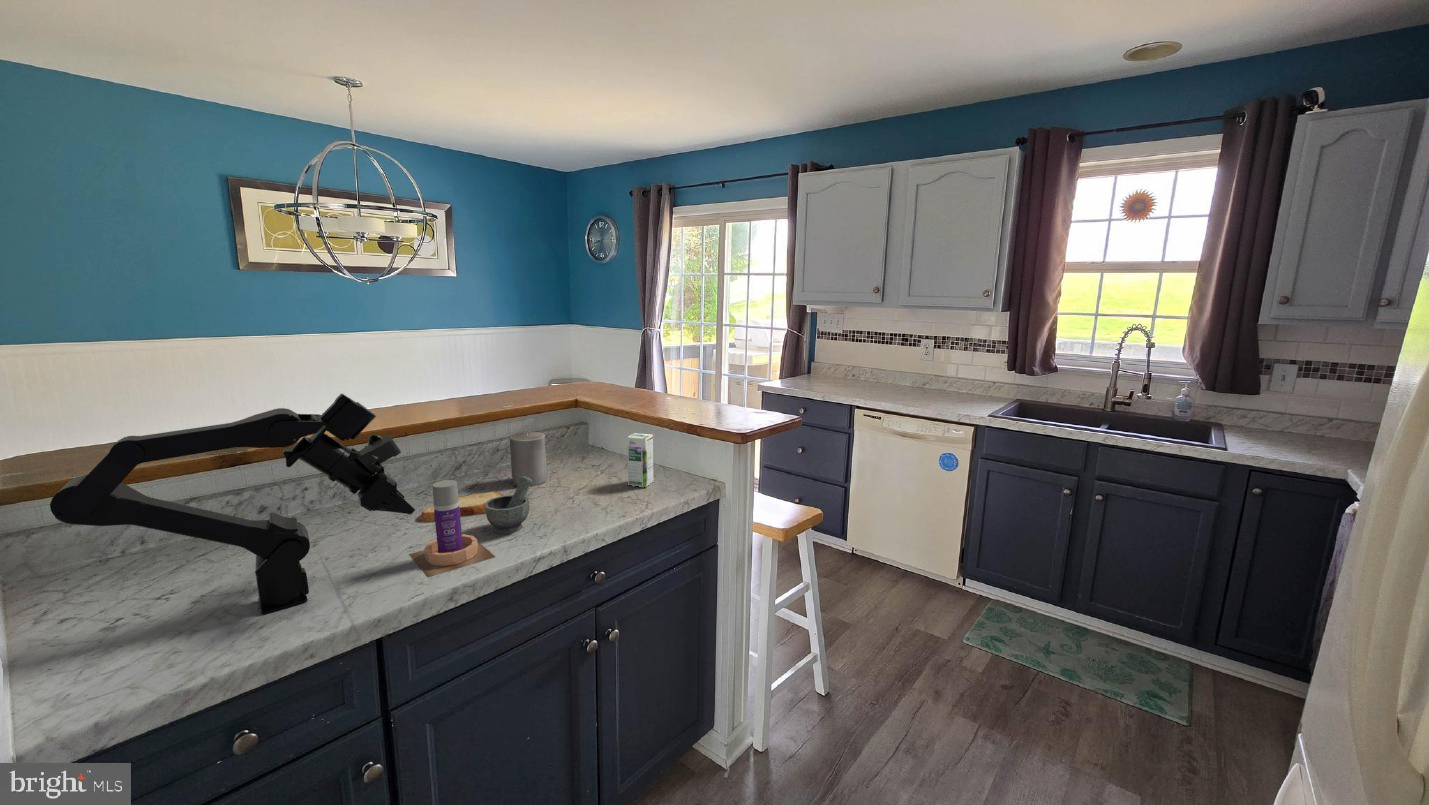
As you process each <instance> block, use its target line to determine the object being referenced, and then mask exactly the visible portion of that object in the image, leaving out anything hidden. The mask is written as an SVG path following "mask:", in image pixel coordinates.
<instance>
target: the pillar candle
mask: <svg viewBox="0 0 1429 805" xmlns="http://www.w3.org/2000/svg"><path fill="white" fill-rule="evenodd" d="M545 437H546V434H544V433H543V432H539V431H524V432H518V433H514V434H512V435H510V436H509V446H510V447H509V448H510V463H511V464H510V466H511V468H510V469H511V481H512V482H511V483H512V485H514V486H516V487H518V485H519V483H520V478H521V477H522V476H525V477H528V478H530V479H531V480H532V481H533V482H532V484H530V486H529V488H530V487H535V486H536V485H537V486H540V485H541V484H544V483H547V481H548V474H547V455H546V454H547V453H546V438H545ZM537 486H536V487H537Z"/></svg>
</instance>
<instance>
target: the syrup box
mask: <svg viewBox="0 0 1429 805" xmlns="http://www.w3.org/2000/svg"><path fill="white" fill-rule="evenodd" d="M626 443H627V472H628V473H627V483H628V485H632V486H631V487H635V486H639V487H638V488H644V487H645V488H644V489H646V488H648V487H649V486H650V485H651V484H653V483H654V434H652V433H651V434H646V433H639V432H634V433H631V434H630V435H628V436H627V442H626ZM652 482H653V483H652ZM650 483H651V484H650ZM648 485H649V486H648ZM647 486H648V487H647Z"/></svg>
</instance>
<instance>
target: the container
mask: <svg viewBox="0 0 1429 805" xmlns="http://www.w3.org/2000/svg"><path fill="white" fill-rule="evenodd" d="M432 497H433V498H432V499H433V506H434V515H435V522H434V524H435V533H436V534H435V535H436V539H437V546H438V553H449V552H455V551H459V550H462V549H463V542H462V534H463V533H462V521H461V519H462V518H461V517H460V507H459V498H460V497H459V490H458V482H457V481H456V480H453V479H452V480H451V479H445V480H439V481H436V482H434V483H433V484H432Z"/></svg>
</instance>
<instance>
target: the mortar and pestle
mask: <svg viewBox="0 0 1429 805" xmlns="http://www.w3.org/2000/svg"><path fill="white" fill-rule="evenodd" d="M532 482H533V481H532V480H531V479H530V478H528V477H525V476H522V477H521V478H520V483H519V485H518V486H516V489H515V491H514V493H513V494H508V495H507V494H503V495H504V496H500V497H496V498H492V499H490V500H489V501H487V502H485V503H484V506H485V512H486V513H485V516H486V520H487V521H488V522H489V524H490V525H491V526H492V527H494V533H496V534H499V535H506V534H507V535H509V534H514V533H518V532H519V531H521V530H522V529H523V525H522V524H523V523H524V521H525V520H526V519H527V518H528V515H529V514H530V500H529V498H528V496H527V494H528V492H529V491H528V490H529V488H530V487H531V486H530V484H532ZM529 486H530V487H529Z"/></svg>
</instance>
